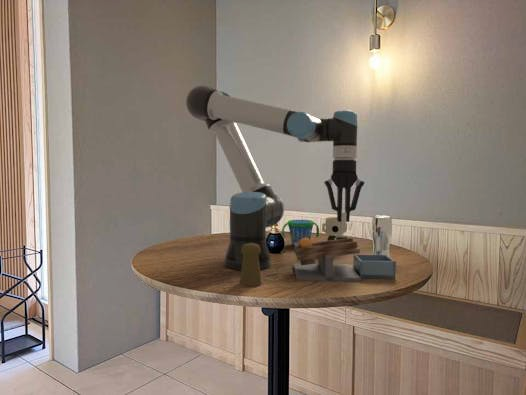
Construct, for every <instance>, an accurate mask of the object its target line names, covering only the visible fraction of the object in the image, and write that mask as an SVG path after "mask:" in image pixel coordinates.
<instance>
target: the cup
mask: <svg viewBox="0 0 526 395" xmlns="http://www.w3.org/2000/svg"><path fill="white" fill-rule="evenodd" d="M389 256H390V255H389ZM389 256H387V255H372V254H361V253H357V254H353V263H352V265H353V267H352V268H353V269H354V270H355V271H356V273H357V274H358V275H359V276H360V277H361V279H384V280H385V279H386V280H387V279H389V280H390V279H391V280H393V279H394V280H395V279H396V271H397V270H396V269H397V268H396V265H397V263H396V260H394V259H393V258H391V257H389Z"/></svg>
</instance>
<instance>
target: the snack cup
mask: <svg viewBox="0 0 526 395" xmlns="http://www.w3.org/2000/svg"><path fill="white" fill-rule="evenodd" d="M287 226H288V228H289V236H290V243H291V246H294V243H295V242H298V244H299V241H300V240H301V239H302V238H308V239H310V240H312V234H313V233H312V231H313V228H314V226H316V228H315V229H316V234H315V237H316V238H318V237H320V228H319V225H318V224H317V223H316V222H315V221H313V220H310V219H290V220H288V221H287V222H286V223H285V224H283V227H282V229H281V235H282V236H281V237H282V238H283V239H285V238H286V236H285V228H286V227H287ZM294 247H295V246H294Z"/></svg>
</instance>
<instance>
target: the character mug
mask: <svg viewBox="0 0 526 395" xmlns="http://www.w3.org/2000/svg"><path fill="white" fill-rule="evenodd" d="M321 225H322V227H321V231H322V232H323V233H324V234H325V235H327V236H328V237H327V240H326V241H330V240H334V238H336V237H338V236H344V234H345V232H340V222H338V221H337V216H332V217H331V216H330V217H326V218H325V223H322V224H321ZM347 230H348V222H346V231H347Z"/></svg>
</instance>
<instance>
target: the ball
mask: <svg viewBox="0 0 526 395" xmlns="http://www.w3.org/2000/svg"><path fill="white" fill-rule="evenodd" d="M312 243H313V242H312V239H308V238H302V239H301V240H300V241H299V246H300V248H306V247H312Z"/></svg>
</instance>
